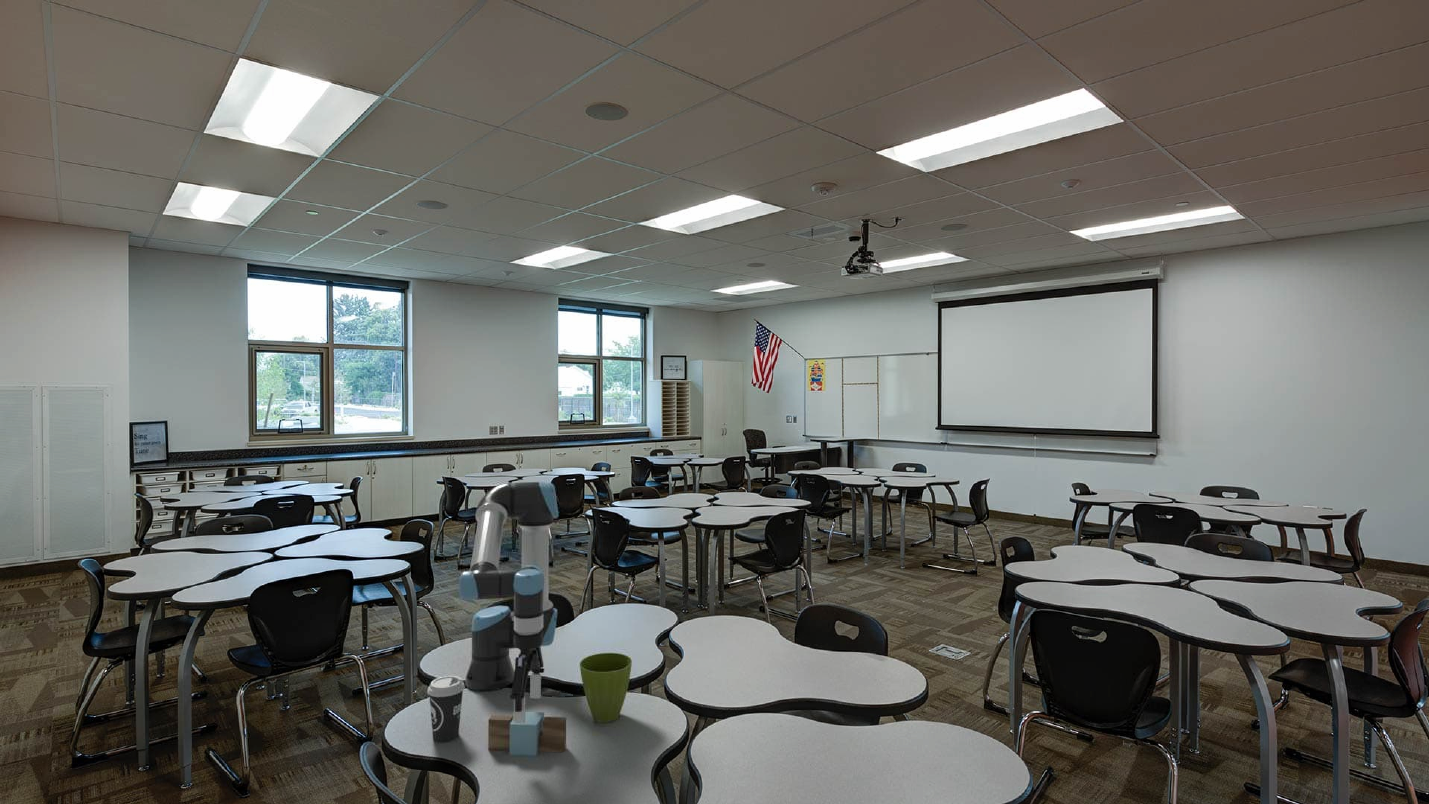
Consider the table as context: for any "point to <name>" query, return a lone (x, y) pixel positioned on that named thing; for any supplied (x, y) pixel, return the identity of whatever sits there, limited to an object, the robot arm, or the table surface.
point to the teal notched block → (526, 734)
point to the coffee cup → (445, 707)
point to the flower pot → (605, 684)
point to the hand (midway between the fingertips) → (527, 709)
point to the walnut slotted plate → (547, 740)
